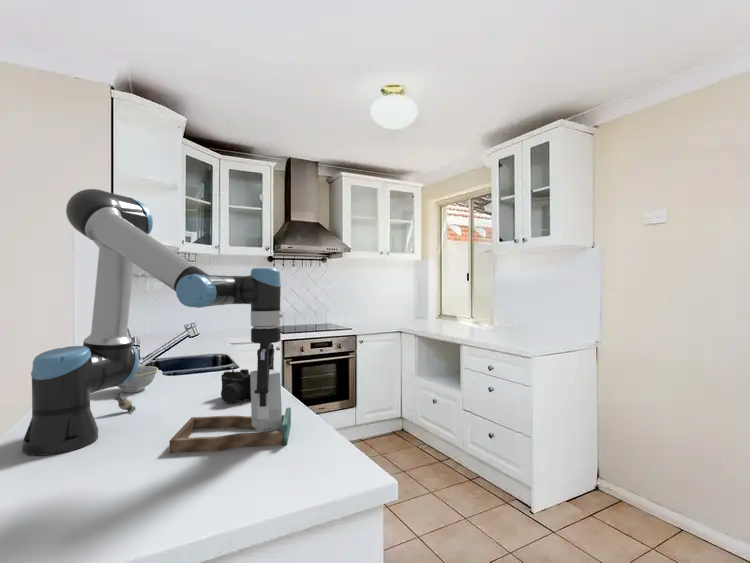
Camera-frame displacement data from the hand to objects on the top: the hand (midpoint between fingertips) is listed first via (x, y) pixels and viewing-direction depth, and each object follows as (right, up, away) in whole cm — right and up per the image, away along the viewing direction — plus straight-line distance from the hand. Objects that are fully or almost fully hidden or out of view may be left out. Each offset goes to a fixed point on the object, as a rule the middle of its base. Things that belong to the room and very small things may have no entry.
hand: (265, 412), depth 110 cm
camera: (-19, -7, +34) cm, 39 cm away
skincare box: (0, -4, 0) cm, 4 cm away
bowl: (-62, -7, +48) cm, 78 cm away
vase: (-49, -7, +20) cm, 54 cm away
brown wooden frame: (-7, -6, -1) cm, 9 cm away
